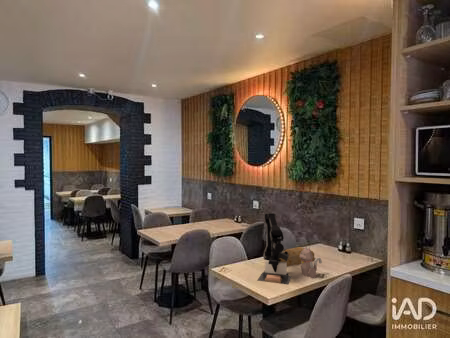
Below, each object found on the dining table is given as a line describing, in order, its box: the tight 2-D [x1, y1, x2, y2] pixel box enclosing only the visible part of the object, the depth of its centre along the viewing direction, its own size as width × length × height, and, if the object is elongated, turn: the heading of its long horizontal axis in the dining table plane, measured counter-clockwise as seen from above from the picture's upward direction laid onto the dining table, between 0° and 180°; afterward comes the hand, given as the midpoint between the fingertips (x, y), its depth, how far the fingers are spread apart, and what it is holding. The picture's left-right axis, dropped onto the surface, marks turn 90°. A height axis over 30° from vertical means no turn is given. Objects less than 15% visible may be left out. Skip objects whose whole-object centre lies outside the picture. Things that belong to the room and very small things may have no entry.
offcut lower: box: [264, 276, 282, 285], centre depth 200 cm, size 6×10×1 cm, turn 71°
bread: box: [280, 246, 315, 267], centre depth 243 cm, size 36×11×10 cm, turn 121°
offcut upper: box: [266, 275, 280, 281], centre depth 200 cm, size 5×9×1 cm, turn 79°
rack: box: [256, 269, 292, 286], centre depth 205 cm, size 16×20×4 cm
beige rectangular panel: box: [264, 260, 288, 275], centre depth 208 cm, size 2×14×10 cm, turn 71°
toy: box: [299, 246, 323, 279], centre depth 213 cm, size 9×18×20 cm, turn 117°
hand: (275, 271), depth 208 cm, fingers closed on beige rectangular panel, 2 cm apart
